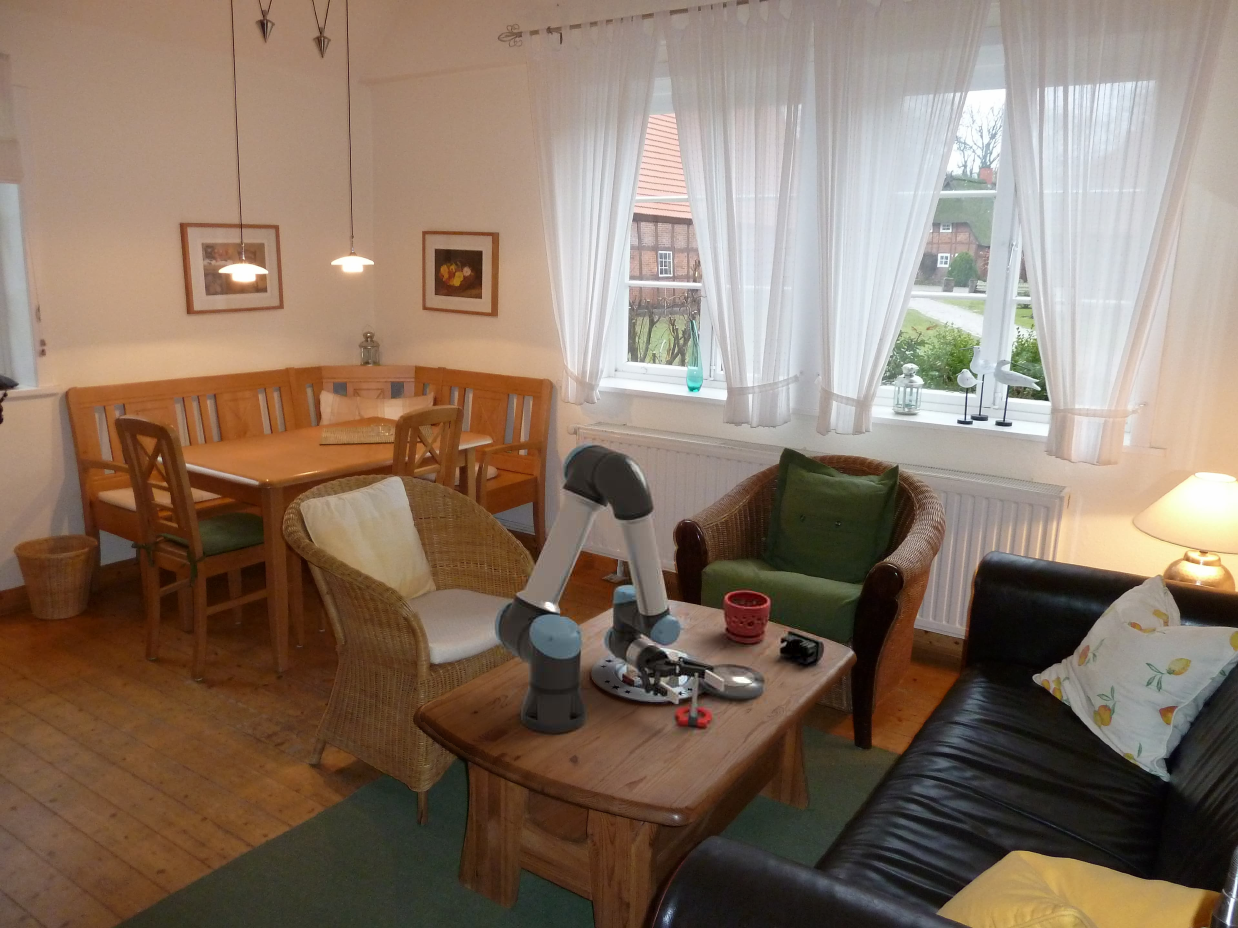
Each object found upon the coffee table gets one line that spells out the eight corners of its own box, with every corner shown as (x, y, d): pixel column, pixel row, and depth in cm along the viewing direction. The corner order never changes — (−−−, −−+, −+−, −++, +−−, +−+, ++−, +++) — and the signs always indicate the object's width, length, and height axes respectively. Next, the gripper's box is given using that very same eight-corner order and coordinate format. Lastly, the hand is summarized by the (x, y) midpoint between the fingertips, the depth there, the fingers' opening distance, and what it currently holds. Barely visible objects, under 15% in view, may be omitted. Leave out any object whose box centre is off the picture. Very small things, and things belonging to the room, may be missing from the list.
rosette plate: (705, 700, 237) (705, 689, 237) (696, 672, 253) (697, 662, 252) (769, 701, 238) (770, 690, 238) (757, 673, 254) (757, 663, 253)
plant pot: (717, 628, 283) (719, 590, 280) (761, 628, 284) (764, 590, 282) (726, 646, 270) (729, 606, 267) (772, 646, 272) (776, 606, 269)
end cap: (823, 662, 263) (825, 638, 261) (808, 669, 258) (810, 645, 256) (792, 650, 270) (794, 627, 268) (777, 657, 265) (779, 634, 263)
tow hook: (677, 708, 233) (674, 725, 224) (681, 658, 231) (677, 672, 222) (712, 712, 232) (710, 729, 223) (716, 661, 230) (714, 676, 221)
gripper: (686, 662, 251) (740, 694, 234) (605, 683, 237) (656, 719, 220) (688, 635, 249) (742, 666, 232) (607, 654, 236) (658, 688, 218)
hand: (700, 691), depth 226 cm, fingers open, 13 cm apart
